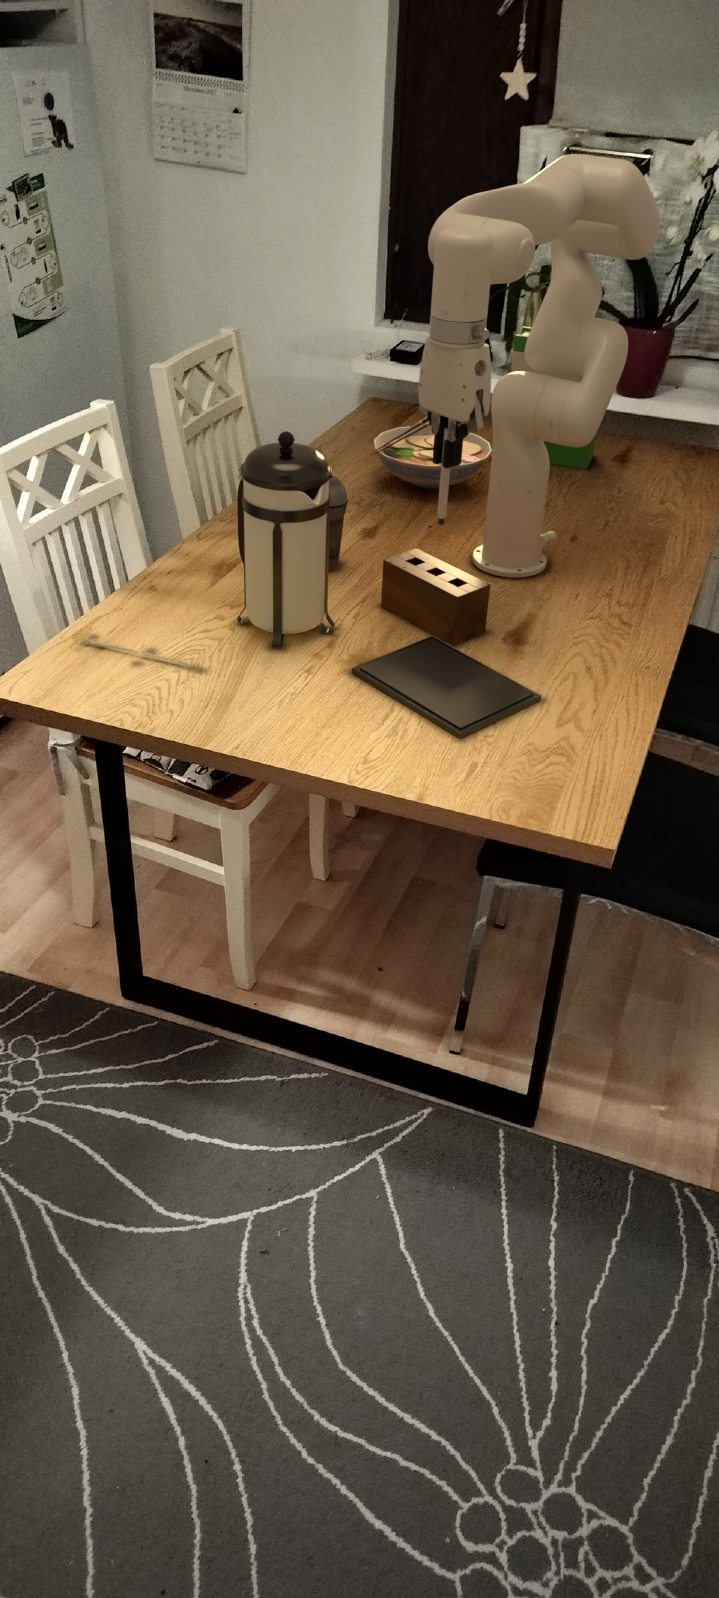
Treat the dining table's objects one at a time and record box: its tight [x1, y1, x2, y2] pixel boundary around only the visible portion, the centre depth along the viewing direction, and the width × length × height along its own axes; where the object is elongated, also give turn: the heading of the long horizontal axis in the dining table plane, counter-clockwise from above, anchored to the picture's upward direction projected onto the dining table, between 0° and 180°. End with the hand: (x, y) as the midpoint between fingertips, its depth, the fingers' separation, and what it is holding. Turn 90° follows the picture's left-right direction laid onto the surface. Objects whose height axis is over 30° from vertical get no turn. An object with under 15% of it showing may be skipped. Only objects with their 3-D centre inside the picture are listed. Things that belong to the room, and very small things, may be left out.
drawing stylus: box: [436, 428, 450, 526], centre depth 171 cm, size 1×1×14 cm
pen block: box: [380, 548, 491, 646], centre depth 183 cm, size 7×16×8 cm, turn 41°
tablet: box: [351, 636, 542, 739], centre depth 168 cm, size 22×16×1 cm
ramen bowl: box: [369, 416, 493, 490], centre depth 230 cm, size 25×23×8 cm
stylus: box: [84, 637, 193, 668], centre depth 172 cm, size 4×1×19 cm
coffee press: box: [236, 430, 336, 649], centre depth 173 cm, size 17×16×30 cm
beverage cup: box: [317, 447, 349, 572], centre depth 194 cm, size 7×7×20 cm
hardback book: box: [510, 325, 598, 470], centre depth 239 cm, size 18×7×24 cm, turn 71°
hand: (446, 463), depth 170 cm, fingers closed on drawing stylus, 1 cm apart
